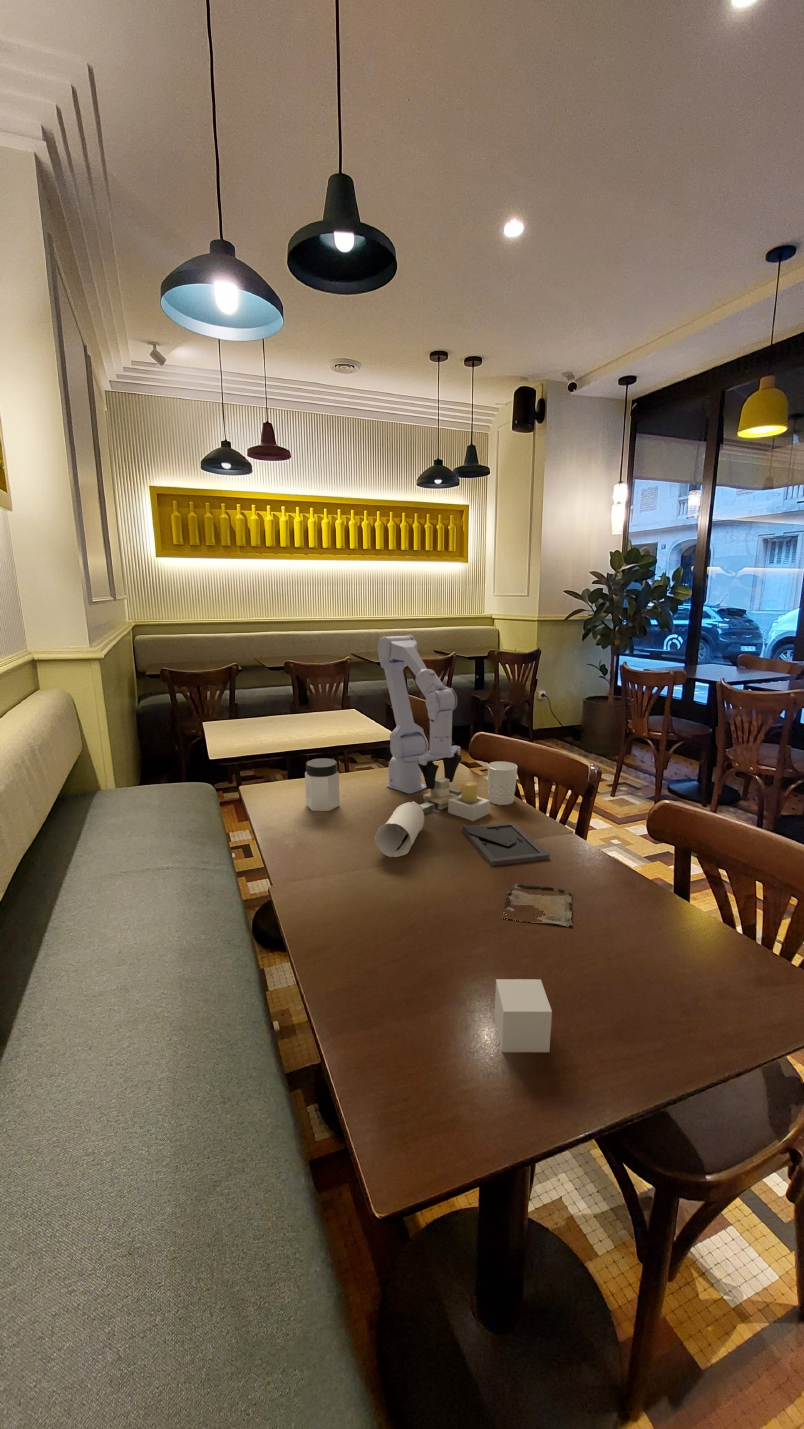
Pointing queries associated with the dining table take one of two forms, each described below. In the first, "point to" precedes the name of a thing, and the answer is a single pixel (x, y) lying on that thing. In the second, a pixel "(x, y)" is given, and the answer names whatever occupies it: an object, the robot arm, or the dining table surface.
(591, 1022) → the dining table surface
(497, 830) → the picture frame
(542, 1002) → the white cube
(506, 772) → the white cup
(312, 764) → the jar
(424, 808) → the gray block handle
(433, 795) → the carriage
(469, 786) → the cylinder
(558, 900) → the parchment
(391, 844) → the white hollow cylinder
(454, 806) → the frame
